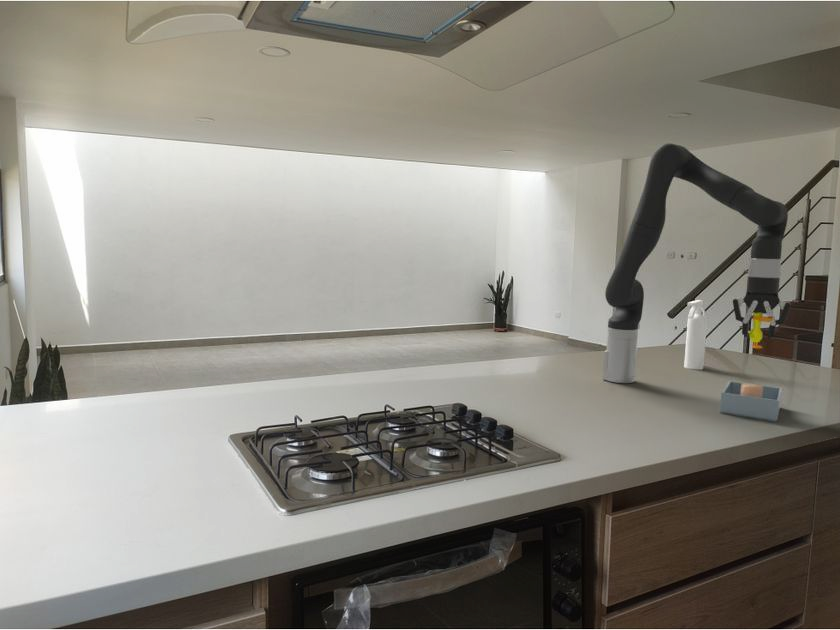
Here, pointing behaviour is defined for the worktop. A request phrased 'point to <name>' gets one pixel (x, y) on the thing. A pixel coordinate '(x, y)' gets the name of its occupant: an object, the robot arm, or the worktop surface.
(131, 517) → the worktop surface
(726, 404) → the tote
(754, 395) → the brown egg
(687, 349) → the white spray bottle
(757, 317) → the toy figure
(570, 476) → the worktop surface
